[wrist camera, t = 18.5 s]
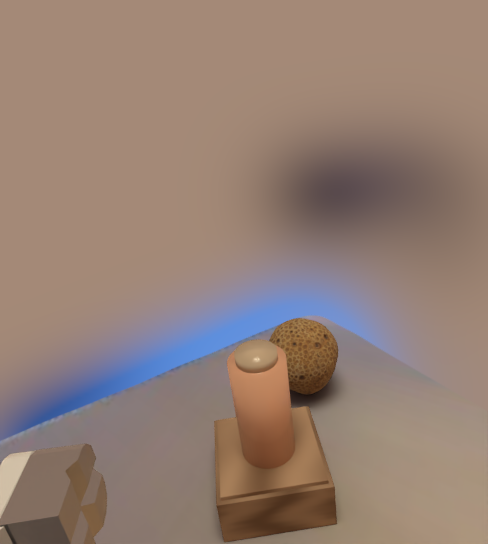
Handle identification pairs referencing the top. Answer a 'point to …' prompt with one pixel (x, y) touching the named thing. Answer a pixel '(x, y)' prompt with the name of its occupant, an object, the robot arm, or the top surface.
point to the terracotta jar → (262, 403)
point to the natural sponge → (307, 353)
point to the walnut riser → (272, 484)
